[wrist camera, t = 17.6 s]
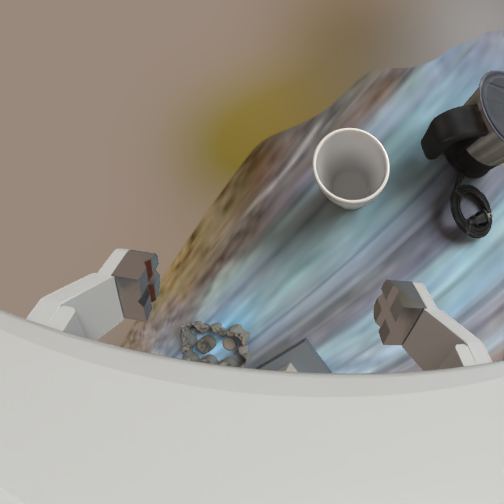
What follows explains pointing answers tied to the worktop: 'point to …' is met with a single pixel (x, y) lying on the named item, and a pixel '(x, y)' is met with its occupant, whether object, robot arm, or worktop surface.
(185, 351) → the grey rock frame
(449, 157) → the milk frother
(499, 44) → the worktop surface
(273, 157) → the worktop surface
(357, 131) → the drinking glass
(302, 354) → the base board
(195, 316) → the worktop surface
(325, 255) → the worktop surface
